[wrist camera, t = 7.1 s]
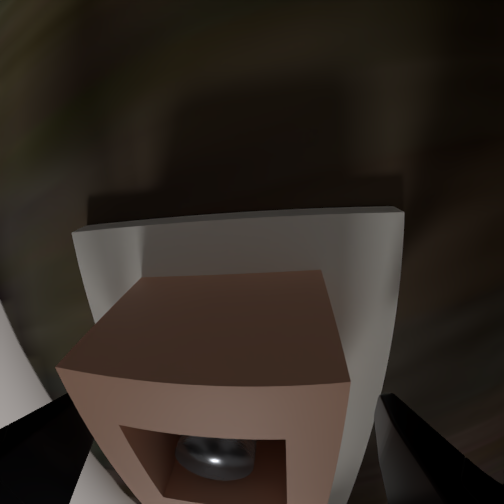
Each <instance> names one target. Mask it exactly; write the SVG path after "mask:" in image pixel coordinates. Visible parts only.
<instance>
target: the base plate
mask: <svg viewBox="0 0 504 504" xmlns="http://www.w3.org/2000/svg"><path fill="white" fill-rule="evenodd" d="M403 236H404V212H403V211H401V210H400V209H398V208H396V207H394V206H374V207H337V208H311V209H288V210H269V211H251V212H235V213H220V214H206V215H193V216H180V217H168V218H157V219H146V220H135V221H125V222H115V223H105V224H96V225H87V226H84V227H82V228H80V229H78V230H76V231H74V232H72V237H73V242H74V246H75V251H76V255H77V259H78V264H79V268H80V272H81V276H82V280H83V283H84V287H85V291H86V294H87V298H88V301H89V305H90V308H91V311H92V315H93V318H94V321H95V324H96V323H97V322H98V321H99V320H100V319H101V317H102V316H103V315H104V314H105V313H106V312H107V311H108V310H109V309H110V308H111V307H112V306H113V305H114V304H115V303H116V302H117V301H118V300H119V299H120V298H121V297H122V296H123V295H124V294H125V293H126V292H127V291H128V290H129V289H130V288H131V287H132V286H133V285H134V284H135V283H136V282H137V281H138V280H139V279H140V278H141V277H168V276H197V275H223V274H247V273H268V272H288V271H307V270H321V271H322V275H323V278H324V281H325V285H326V288H327V292H328V295H329V299H330V303H331V306H332V310H333V314H334V317H335V321H336V325H337V328H338V332H339V336H340V340H341V344H342V348H343V352H344V356H345V360H346V364H347V368H348V372H349V376H350V380H351V384H350V392H349V399H348V406H347V412H346V418H345V424H344V430H343V436H342V441H341V446H340V451H339V457H338V461H337V466H336V471H335V475H334V480H333V484H332V488H331V492H330V497H329V501H328V504H347V501H348V499H349V496H350V494H351V491H352V488H353V486H354V483H355V480H356V477H357V474H358V472H359V469H360V466H361V463H362V460H363V457H364V453H365V450H366V447H367V444H368V440H369V437H370V434H371V430H372V427H373V423H374V412H375V408H376V404H377V400H378V397H379V395H380V394H381V391H382V387H383V382H384V378H385V373H386V368H387V363H388V358H389V353H390V347H391V342H392V336H393V330H394V323H395V316H396V309H397V302H398V294H399V285H400V275H401V264H402V252H403Z"/></svg>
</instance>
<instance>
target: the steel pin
mask: <svg viewBox="0 0 504 504" xmlns="http://www.w3.org/2000/svg"><path fill="white" fill-rule="evenodd" d="M256 444H257V440H255V439H226V438H211V437H199V436H189V435H180V438H179V441H178V444H177V447H176V449H175V457H176V459H177V461H178V462H179V463H180V464H181V465H182V466H183V467H184V468H186V469H187V470H189V471H190V472H192V473H194V474H196V475H199V476H202V477H205V478H209V479H214V480H223V481H229V480H237V479H241V478H244V477H246V476H248V475H249V474H250V473H251V472H252V471H253V468H254V461H255V452H256Z"/></svg>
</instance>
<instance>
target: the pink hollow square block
mask: <svg viewBox="0 0 504 504" xmlns="http://www.w3.org/2000/svg"><path fill="white" fill-rule="evenodd" d="M56 370H57V372H58V374H59V376H60V378H61V380H62V382H63V384H64V386H65V388H66V390H67V392H68V394H69V396H70V397H71V399H72V401H73V403H74V405H75V407H76V408H77V410H78V412H79V414H80V416H81V417H82V419H83V421H84V422H85V424H86V426H87V427H88V429H89V431H90V432H91V434H92V436H93V437H94V439H95V440H96V442H97V443H98V445H99V446H100V448H101V450H102V451H103V453H104V454H105V455H106V457H107V458H108V460H109V461H110V463H111V464H112V466H113V467H114V468H115V470H116V471H117V472H118V474H119V475H120V477H121V478H122V479H123V481H124V482H125V483H126V484H127V486H128V487H129V488H130V490H131V491H132V492H133V493H134V495H135V496H136V497H137V498H138V499H139V501H140V502H141V503H142V504H328V501H329V497H330V492H331V488H332V484H333V480H334V475H335V471H336V466H337V461H338V457H339V451H340V446H341V441H342V436H343V430H344V424H345V418H346V412H347V406H348V399H349V392H350V384H351V380H350V376H349V372H348V368H347V364H346V360H345V356H344V352H343V348H342V344H341V340H340V336H339V332H338V328H337V325H336V321H335V317H334V314H333V310H332V306H331V303H330V299H329V295H328V292H327V288H326V285H325V281H324V278H323V275H322V271H321V270H307V271H288V272H268V273H247V274H223V275H197V276H168V277H141V278H140V279H139V280H138V281H137V282H136V283H135V284H134V285H133V286H132V287H131V288H130V289H129V290H128V291H127V292H126V293H125V294H124V295H123V296H122V297H121V298H120V299H119V300H118V301H117V302H116V303H115V304H114V305H113V306H112V307H111V308H110V309H109V310H108V311H107V312H106V313H105V314H104V315H103V316H102V317H101V319H100V320H99V321H98V322H97V323H96V324H95V325H94V326H93V327H92V328H91V329H90V330H89V331H88V332H87V333H86V334H85V335H84V336H83V337H82V338H81V339H80V341H79V342H78V343H77V344H76V345H75V346H74V347H73V348H72V349H71V350H70V351H69V352H68V353H67V355H66V356H65V357H64V358H63V359H62V360H61V361H60V362H59V363H58V364H57V366H56ZM180 435H189V436H199V437H211V438H226V439H255V440H257V444H256V452H255V461H254V468H253V471H252V472H251V473H250V474H249V475H248V476H246V477H244V478H241V479H237V480H229V481H223V480H214V479H209V478H205V477H202V476H199V475H196V474H194V473H192V472H190V471H189V470H187V469H186V468H184V467H183V466H182V465H181V464H180V463H179V462H178V461H177V459H176V457H175V449H176V447H177V444H178V441H179V438H180Z"/></svg>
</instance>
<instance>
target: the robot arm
mask: <svg viewBox="0 0 504 504" xmlns="http://www.w3.org/2000/svg"><path fill="white" fill-rule="evenodd" d="M374 423H375V431H376V439H377V448H378V457H379V464H380V468H381V473H382V477H383V481H384V486H385V491H386V495H387V500H388V504H504V485H502V484H500V483H499V482H497V481H496V480H494V479H493V478H492V477H490V476H489V475H487V474H486V473H485V472H483V471H482V470H481V469H480V468H478V467H477V466H476V465H475V464H473V463H472V462H471V461H470V460H469V459H468V458H465V456H464V455H463V454H462V453H461V452H459V451H458V450H457V449H456V448H455V447H454V446H453V445H451V444H450V443H449V442H448V441H447V440H446V439H445V438H443V437H442V436H441V435H440V434H439V433H438V432H437V431H435V430H434V429H433V428H432V427H431V426H430V425H429V424H427V423H426V422H425V421H424V420H423V419H422V418H421V417H420V416H418V415H417V414H416V413H415V412H414V411H413V410H412V409H410V408H409V407H408V406H407V405H406V404H405V403H404V402H403V401H401V400H400V399H399V398H398V397H397V396H396V395H395V394H393V393H385V394H380V395H379V397H378V400H377V404H376V408H375V412H374ZM93 440H94V437H93V436H92V434H91V432H90V431H89V429H88V427H87V426H86V424H85V422H84V421H83V419H82V417H81V416H80V414H79V412H78V410H77V408H76V407H75V405H74V403H73V401H72V399H71V397H70V396H69V394H68V393H67V394H65V395H63V396H61V397H59V398H57V399H56V400H54V401H52V402H50V403H48V404H46V405H45V406H43V407H41V408H39V409H37V410H35V411H34V412H32V413H30V414H28V415H26V416H24V417H22V418H20V419H18V420H17V421H15V422H13V423H11V424H9V425H7V426H5V427H3V428H1V429H0V504H69V503H70V500H71V497H72V495H73V492H74V489H75V487H76V484H77V481H78V479H79V476H80V474H81V471H82V469H83V466H84V463H85V461H86V458H87V456H88V454H89V451H90V449H91V446H92V444H93Z"/></svg>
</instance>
